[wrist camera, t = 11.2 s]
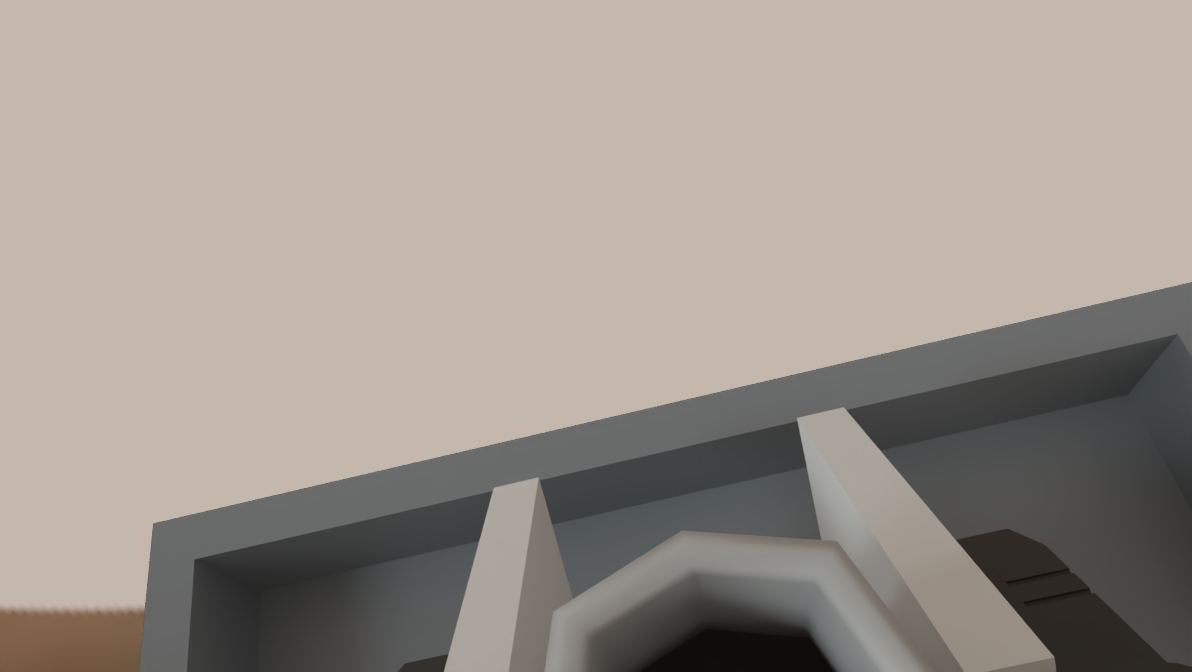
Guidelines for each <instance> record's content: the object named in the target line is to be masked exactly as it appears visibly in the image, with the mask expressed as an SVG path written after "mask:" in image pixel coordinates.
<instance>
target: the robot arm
mask: <svg viewBox="0 0 1192 672" xmlns="http://www.w3.org/2000/svg"><path fill="white" fill-rule="evenodd" d="M797 421H798V426H799V431H800V436H801V441H802V446H803V451H804V456H805V461H806V466H807V471H808V476H809V481H810V486H811V491H812V496H813V501H814V506H815V511H816V516H817V521H818V526H819V531H820V536H821V540H830V541H837V542H838V543H839V545H840V546H841V547H842V549H843V550H844V551H845V553H846V554H847V555H848V556H849V558H850V559H851V560H852V562H853V563H854V564H855V566H856V567H857V568H858V570H859V571H860V572H861V573H862V575H863V576H864V577H865V579H866V580H867V581H868V583H869V584H870V585H871V587H872V588H873V589H874V590H875V592H876V593H877V594H878V596H879V597H880V598H881V600H882V601H883V602H884V604H885V605H886V606H887V607H888V609H889V610H890V611H891V613H892V614H893V615H894V617H895V618H896V619H897V621H898V622H899V623H900V624H901V626H902V627H903V628H904V630H905V631H906V632H907V634H908V635H909V636H910V638H911V639H912V640H913V641H914V643H915V644H916V645H917V647H918V648H919V649H920V651H921V652H922V653H923V655H924V656H925V657H926V658H927V660H928V661H929V662H930V664H931V665H932V666H933V668H934V669H935V670H936V672H1192V667H1190V666H1186V665H1182V664H1178V663H1168V662H1166V661H1165V660H1164V659H1163V658H1162V657H1161V656H1160V655H1159V654H1158V653H1157V652H1156V651H1155V650H1154V649H1153V648H1152V647H1151V646H1150V645H1149V644H1148V643H1147V642H1146V641H1144V640H1143V639H1142V638H1141V637H1140V636H1139V635H1138V634H1137V633H1136V632H1135V631H1134V630H1133V629H1132V628H1131V627H1130V626H1129V625H1128V624H1127V623H1126V622H1125V621H1124V620H1123V619H1122V618H1121V617H1120V616H1118V615H1117V614H1116V613H1115V612H1114V611H1113V610H1112V609H1111V608H1110V607H1109V606H1108V605H1107V604H1106V603H1105V602H1104V601H1103V600H1102V599H1101V598H1100V597H1099V596H1098V595H1097V594H1096V593H1091V591H1090V588H1089V587H1088V586H1087V585H1086V584H1085V583H1084V582H1083V581H1082V580H1081V579H1080V578H1079V577H1078V576H1077V575H1076V574H1075V573H1071V572H1070V570H1069V567H1068V566H1066V565H1065V564H1064V563H1063V562H1062V561H1061V560H1060V559H1059V558H1058V557H1057V556H1056V555H1055V554H1054V553H1053V552H1052V551H1051V550H1050V549H1049V548H1048V547H1047V546H1046V545H1044V544H1042V543H1040V542H1038V541H1035V540H1033V539H1031V538H1028V537H1026V536H1024V535H1022V534H1019V533H1017V532H1015V531H1012V530H1010V529H1008V528H1007V529H1003V530H998V531H994V532H989V533H984V534H980V535H975V536H971V537H966V538H962V539H957V540H955V539H954V537H953V536H952V535H951V534H950V533H949V531H948V530H947V529H946V528H945V527H944V526H943V524H942V523H941V522H940V521H939V520H938V518H937V517H936V516H935V515H934V514H933V512H932V511H931V510H930V509H929V508H928V507H927V505H926V504H925V503H924V502H923V501H922V499H921V498H920V497H919V496H918V495H917V494H916V492H915V491H914V490H913V489H912V488H911V486H910V485H909V484H908V483H907V482H906V480H905V479H904V478H903V477H902V476H901V475H900V473H899V472H898V471H897V470H896V469H895V467H894V466H893V465H892V464H891V463H890V461H889V460H888V459H887V458H886V457H885V456H884V454H883V453H882V452H881V451H880V450H879V448H878V447H877V446H876V445H875V444H874V442H873V441H872V440H871V439H870V438H869V437H868V435H867V434H866V433H865V432H864V431H863V429H862V428H861V427H860V426H859V425H858V423H857V422H856V421H855V420H854V419H853V418H852V416H851V415H850V414H849V413H848V412H847V410H846V409H845V408H844V407H842V408H838V409H834V410H829V411H825V412H821V413H816V414H812V415H807V416H803V417H799V418H797ZM572 599H573V597H572V593H571V590H570V586H569V583H568V579H567V576H566V572H565V568H564V565H563V561H562V558H561V554H560V551H559V547H558V544H557V540H556V537H555V533H554V530H553V526H552V523H551V519H550V516H549V512H548V508H547V505H546V501H545V498H544V494H543V491H542V487H541V484H540V480H539V477H538V478H534V479H529V480H525V481H521V482H516V483H512V484H508V485H503V486H499V487H495V488H494V489H493V492H492V496H491V500H490V503H489V507H488V511H487V515H486V518H485V522H484V526H483V529H482V533H481V537H480V540H479V544H478V548H477V551H476V555H475V559H474V562H473V566H472V570H471V574H470V577H469V581H468V585H467V588H466V592H465V596H464V599H463V603H462V607H461V610H460V614H459V618H458V621H457V625H456V629H455V633H454V636H453V640H452V644H451V647H450V651H449V654H446V655H441V656H437V657H432V658H428V659H423V660H418V661H414V662H409V663H405V664H404V665H403V666H402V667H401V669H400V670H399V671H398V672H545V665H546V658H547V651H548V644H549V636H550V629H551V622H552V615H553V611H555V610H557V609H558V608H560V607H561V606H563V605H564V604H566V603H568V602H569V601H571V600H572Z"/></svg>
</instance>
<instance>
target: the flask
mask: <svg viewBox="0 0 1192 672" xmlns="http://www.w3.org/2000/svg"><path fill="white" fill-rule="evenodd" d="M545 672H936V670H935V669H934V668H933V666H932V665H931V664H930V662H929V661H928V660H927V658H926V657H925V656H924V655H923V653H922V652H921V651H920V649H919V648H918V647H917V645H916V644H915V643H914V641H913V640H912V639H911V638H910V636H909V635H908V634H907V632H906V631H905V630H904V628H903V627H902V626H901V624H900V623H899V622H898V621H897V619H896V618H895V617H894V615H893V614H892V613H891V611H890V610H889V609H888V607H887V606H886V605H885V604H884V602H883V601H882V600H881V598H880V597H879V596H878V594H877V593H876V592H875V590H874V589H873V588H872V587H871V585H870V584H869V583H868V581H867V580H866V579H865V577H864V576H863V575H862V573H861V572H860V571H859V570H858V568H857V567H856V566H855V564H854V563H853V562H852V560H851V559H850V558H849V556H848V555H847V554H846V553H845V551H844V550H843V549H842V547H841V546H840V545H839V543H838V542H837V541H830V540H815V539H800V538H786V537H771V536H756V535H742V534H727V533H712V532H697V531H683V530H682V531H680V532H679V533H677V534H675V535H674V536H672V537H671V538H669V539H667V540H666V541H664V542H663V543H661V544H660V545H658V546H656V547H655V548H653V549H652V550H650V551H648V552H647V553H645V554H644V555H642V556H641V557H639V558H637V559H636V560H634V561H633V562H631V563H629V564H628V565H626V566H625V567H623V568H622V569H620V570H618V571H617V572H615V573H614V574H612V575H610V576H609V577H607V578H606V579H604V580H603V581H601V582H599V583H598V584H596V585H595V586H593V587H591V588H590V589H588V590H587V591H585V592H583V593H582V594H580V595H579V596H577V597H576V598H574V599H572V600H571V601H569V602H568V603H566V604H564V605H563V606H561V607H560V608H558V609H557V610H555V611H553V615H552V622H551V629H550V636H549V644H548V651H547V658H546V665H545Z"/></svg>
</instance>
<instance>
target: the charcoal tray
mask: <svg viewBox="0 0 1192 672" xmlns="http://www.w3.org/2000/svg"><path fill="white" fill-rule="evenodd" d="M842 407H844V408H845V409H846V410H847V412H848V413H849V414H850V415H851V416H852V418H853V419H854V420H855V421H856V422H857V423H858V425H859V426H860V427H861V428H862V429H863V431H864V432H865V433H866V434H867V435H868V437H869V438H870V439H871V440H872V441H873V442H874V444H875V445H876V446H877V447H878V448H879V450H880V451H881V452H882V453H883V454H884V456H885V457H886V458H887V459H888V460H889V461H890V463H891V464H892V465H893V466H894V467H895V469H896V470H897V471H898V472H899V473H900V475H901V476H902V477H903V478H904V479H905V480H906V482H907V483H908V484H909V485H910V486H911V488H912V489H913V490H914V491H915V492H916V494H917V495H918V496H919V497H920V498H921V499H922V501H923V502H924V503H925V504H926V505H927V507H928V508H929V509H930V510H931V511H932V512H933V514H934V515H935V516H936V517H937V518H938V520H939V521H940V522H941V523H942V524H943V526H944V527H945V528H946V529H947V530H948V531H949V533H950V534H951V535H952V536H953V537H954V539H955V540H957V539H962V538H966V537H971V536H975V535H980V534H984V533H989V532H994V531H998V530H1003V529H1007V528H1008V529H1010V530H1012V531H1015V532H1017V533H1019V534H1022V535H1024V536H1026V537H1028V538H1031V539H1033V540H1035V541H1038V542H1040V543H1042V544H1044V545H1046V546H1047V547H1048V548H1049V549H1050V550H1051V551H1052V552H1053V553H1054V554H1055V555H1056V556H1057V557H1058V558H1059V559H1060V560H1061V561H1062V562H1063V563H1064V564H1065V565H1066V566H1068V567H1069V570H1070V572H1071V573H1075V574H1076V575H1077V576H1078V577H1079V578H1080V579H1081V580H1082V581H1083V582H1084V583H1085V584H1086V585H1087V586H1088V587H1089V588H1090V591H1091V593H1096V594H1097V595H1098V596H1099V597H1100V598H1101V599H1102V600H1103V601H1104V602H1105V603H1106V604H1107V605H1108V606H1109V607H1110V608H1111V609H1112V610H1113V611H1114V612H1115V613H1116V614H1117V615H1118V616H1120V617H1121V618H1122V619H1123V620H1124V621H1125V622H1126V623H1127V624H1128V625H1129V626H1130V627H1131V628H1132V629H1133V630H1134V631H1135V632H1136V633H1137V634H1138V635H1139V636H1140V637H1141V638H1142V639H1143V640H1144V641H1146V642H1147V643H1148V644H1149V645H1150V646H1151V647H1152V648H1153V649H1154V650H1155V651H1156V652H1157V653H1158V654H1159V655H1160V656H1161V657H1162V658H1163V659H1164V660H1165V661H1166V662H1168V663H1178V664H1182V665H1186V666H1190V667H1192V282H1191V283H1187V284H1182V285H1178V286H1174V287H1169V288H1165V289H1161V290H1156V291H1152V292H1148V293H1144V294H1139V295H1135V296H1130V297H1127V298H1122V299H1118V300H1114V301H1109V302H1105V303H1100V304H1096V305H1092V306H1088V307H1083V308H1079V309H1075V310H1070V311H1066V312H1062V313H1058V314H1053V315H1049V316H1044V317H1040V318H1036V319H1032V320H1027V321H1023V322H1019V323H1014V324H1010V325H1006V326H1002V327H997V328H993V329H988V330H984V331H980V332H976V333H971V334H967V335H963V336H959V337H954V338H950V339H945V340H941V341H937V342H933V343H928V344H924V345H920V346H915V347H911V348H907V349H902V350H899V351H894V352H890V353H885V354H881V355H877V356H872V357H868V358H864V359H860V360H855V361H851V362H846V363H842V364H838V365H834V366H830V367H825V368H821V369H816V370H812V371H808V372H803V373H799V374H795V375H791V376H786V377H782V378H778V379H773V380H769V381H765V382H761V383H756V384H752V385H748V386H743V387H739V388H735V389H730V390H726V391H722V392H717V393H713V394H709V395H705V396H700V397H696V398H692V399H687V400H683V401H679V402H674V403H670V404H666V405H662V406H657V407H653V408H649V409H644V410H640V411H636V412H631V413H627V414H623V415H618V416H614V417H610V418H606V419H602V420H597V421H593V422H588V423H584V424H580V425H575V426H571V427H567V428H563V429H558V430H554V431H550V432H545V433H541V434H537V435H532V436H529V437H524V438H520V439H515V440H511V441H507V442H502V443H498V444H494V445H490V446H485V447H481V448H476V449H472V450H468V451H464V452H459V453H455V454H451V455H446V456H442V457H438V458H434V459H430V460H425V461H421V462H416V463H412V464H408V465H403V466H399V467H395V468H391V469H387V470H382V471H377V472H374V473H369V474H365V475H360V476H356V477H352V478H347V479H343V480H339V481H335V482H330V483H326V484H322V485H317V486H313V487H309V488H304V489H300V490H296V491H291V492H287V493H283V494H278V495H274V496H270V497H266V498H261V499H257V500H253V501H249V502H244V503H240V504H236V505H231V506H227V507H223V508H218V509H214V510H210V511H206V512H201V513H197V514H192V515H188V516H184V517H180V518H175V519H171V520H167V521H163V522H158V523H154V524H153V531H152V541H151V552H150V563H149V572H148V583H147V593H146V603H145V614H144V624H143V634H142V645H141V655H140V666H139V672H398V671H399V670H400V669H401V667H402V666H403V665H404V664H405V663H409V662H414V661H418V660H423V659H428V658H432V657H437V656H441V655H446V654H449V651H450V647H451V644H452V640H453V636H454V633H455V629H456V625H457V621H458V618H459V614H460V610H461V607H462V603H463V599H464V596H465V592H466V588H467V585H468V581H469V577H470V574H471V570H472V566H473V562H474V559H475V555H476V551H477V548H478V544H479V540H480V537H481V533H482V529H483V526H484V522H485V518H486V515H487V511H488V507H489V503H490V500H491V496H492V492H493V489H494V488H495V487H499V486H503V485H508V484H512V483H516V482H521V481H525V480H529V479H534V478H538V477H539V480H540V484H541V487H542V491H543V494H544V498H545V501H546V505H547V508H548V512H549V516H550V519H551V523H552V526H553V530H554V533H555V537H556V540H557V544H558V547H559V551H560V554H561V558H562V561H563V565H564V568H565V572H566V576H567V579H568V583H569V586H570V590H571V593H572V597H573V599H574V598H576V597H577V596H579V595H580V594H582V593H583V592H585V591H587V590H588V589H590V588H591V587H593V586H595V585H596V584H598V583H599V582H601V581H603V580H604V579H606V578H607V577H609V576H610V575H612V574H614V573H615V572H617V571H618V570H620V569H622V568H623V567H625V566H626V565H628V564H629V563H631V562H633V561H634V560H636V559H637V558H639V557H641V556H642V555H644V554H645V553H647V552H648V551H650V550H652V549H653V548H655V547H656V546H658V545H660V544H661V543H663V542H664V541H666V540H667V539H669V538H671V537H672V536H674V535H675V534H677V533H679V532H680V531H682V530H683V531H697V532H712V533H727V534H742V535H756V536H771V537H786V538H800V539H815V540H821V536H820V531H819V526H818V521H817V516H816V511H815V506H814V501H813V496H812V491H811V486H810V481H809V476H808V471H807V466H806V461H805V456H804V451H803V446H802V441H801V436H800V431H799V426H798V421H797V418H799V417H803V416H807V415H812V414H816V413H821V412H825V411H829V410H834V409H838V408H842Z"/></svg>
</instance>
